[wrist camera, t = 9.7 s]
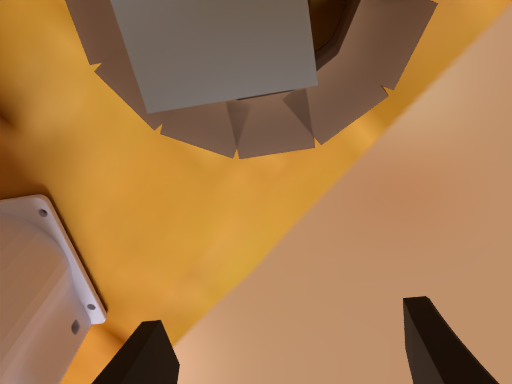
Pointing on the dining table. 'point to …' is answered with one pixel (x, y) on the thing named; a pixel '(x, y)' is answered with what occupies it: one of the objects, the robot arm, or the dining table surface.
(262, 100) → the walnut ring
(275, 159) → the dining table surface
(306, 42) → the slate peg
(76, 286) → the robot arm
